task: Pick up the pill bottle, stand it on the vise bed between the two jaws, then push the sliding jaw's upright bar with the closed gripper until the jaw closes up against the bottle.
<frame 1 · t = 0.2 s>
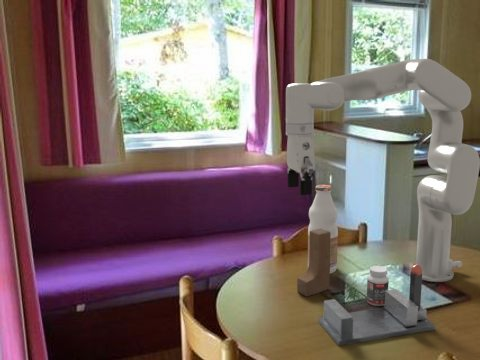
hand: (299, 190, 136), 31 cm above the table, tool pointing down, fingers open, 9 cm apart
pill bottle: (376, 302, 136), on the table
wooden block: (313, 291, 144), on the table
fruit juice: (322, 269, 160), on the table
vise bed: (375, 325, 123), on the table
sliding jaw: (408, 290, 124), point 8 cm above the table, slide at 0.0 cm
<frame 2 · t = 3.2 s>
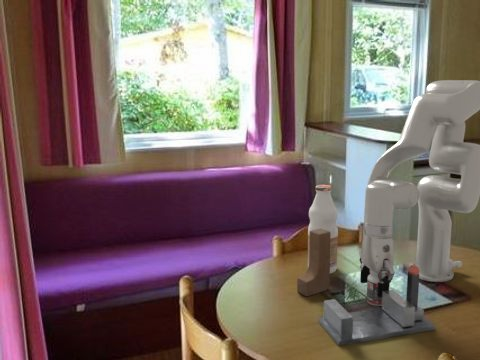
hand: (373, 289, 135), 4 cm above the table, tool pointing down, fingers open, 8 cm apart
sliding jaw: (405, 291, 124), point 8 cm above the table, slide at 0.8 cm, touching gripper
everything else where it was.
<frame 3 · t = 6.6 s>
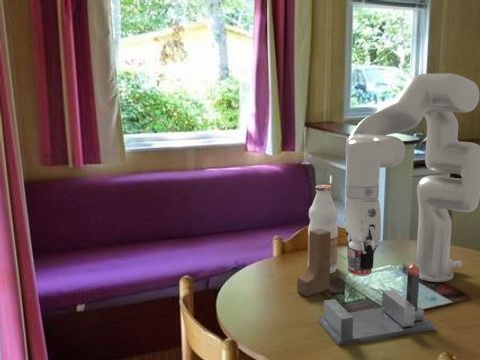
hand: (359, 262, 119), 17 cm above the table, tool pointing down, fingers closed on pill bottle, 5 cm apart
pill bottle: (359, 273, 119), point 15 cm above the table, touching gripper
sliding jaw: (405, 291, 124), point 8 cm above the table, slide at 0.8 cm
everything else where it was.
when the fingers open (5 cm above the table, at t = 9.4 s): pill bottle drops 1 cm, resting on vise bed.
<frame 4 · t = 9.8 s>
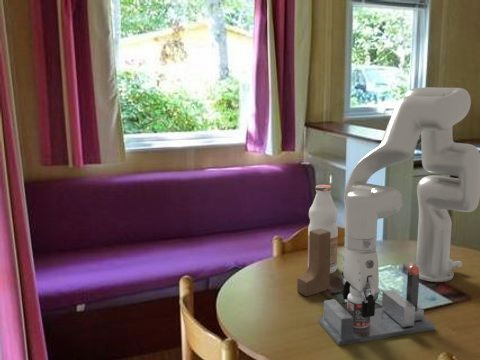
hand: (358, 307, 121), 6 cm above the table, tool pointing down, fingers open, 9 cm apart
pill bottle: (358, 324, 122), point 1 cm above the table, touching vise bed
everything else where it was.
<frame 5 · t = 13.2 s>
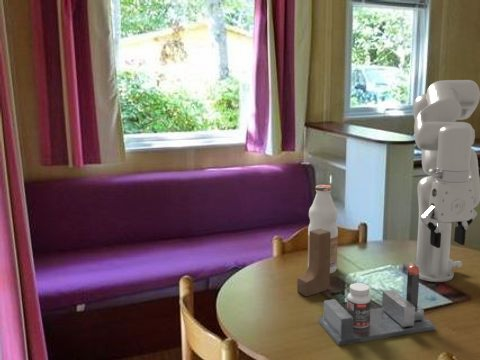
hand: (447, 244, 124), 20 cm above the table, tool pointing down, fingers open, 6 cm apart
nothing on the table moved.
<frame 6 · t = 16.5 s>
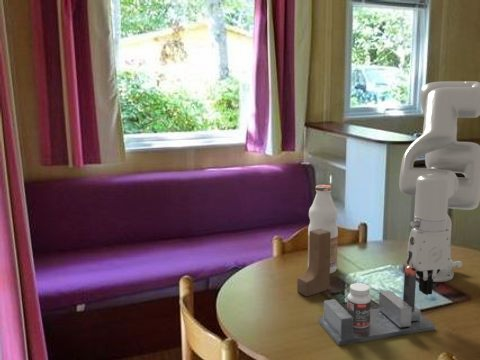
hand: (425, 292, 125), 7 cm above the table, tool pointing down, fingers closed
sliding jaw: (402, 291, 123), point 8 cm above the table, slide at 1.7 cm, touching gripper
everything else where it was.
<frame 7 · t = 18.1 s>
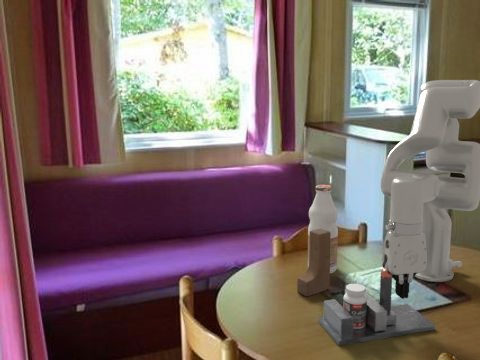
hand: (401, 295, 124), 7 cm above the table, tool pointing down, fingers closed
pill bottle: (354, 324, 122), point 1 cm above the table, touching sliding jaw, vise bed
sliding jaw: (378, 295, 122), point 8 cm above the table, slide at 8.5 cm, touching gripper, pill bottle
everything else where it was.
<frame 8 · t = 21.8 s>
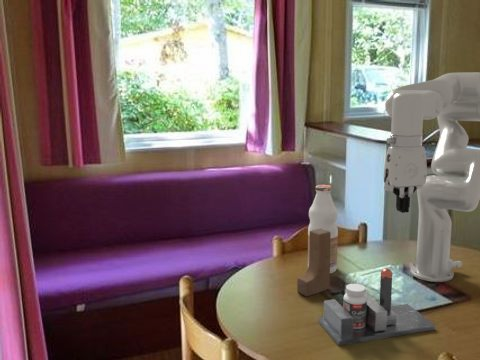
hand: (402, 211, 127), 27 cm above the table, tool pointing down, fingers closed
pill bottle: (354, 324, 122), point 1 cm above the table, touching vise bed
sliding jaw: (378, 295, 122), point 8 cm above the table, slide at 8.5 cm
everything else where it was.
at the end: sliding jaw slide at 8.5 cm; pill bottle inside the target area (0.4 cm from its centre), point 1.0 cm above the table; pill bottle tilted 0° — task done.
